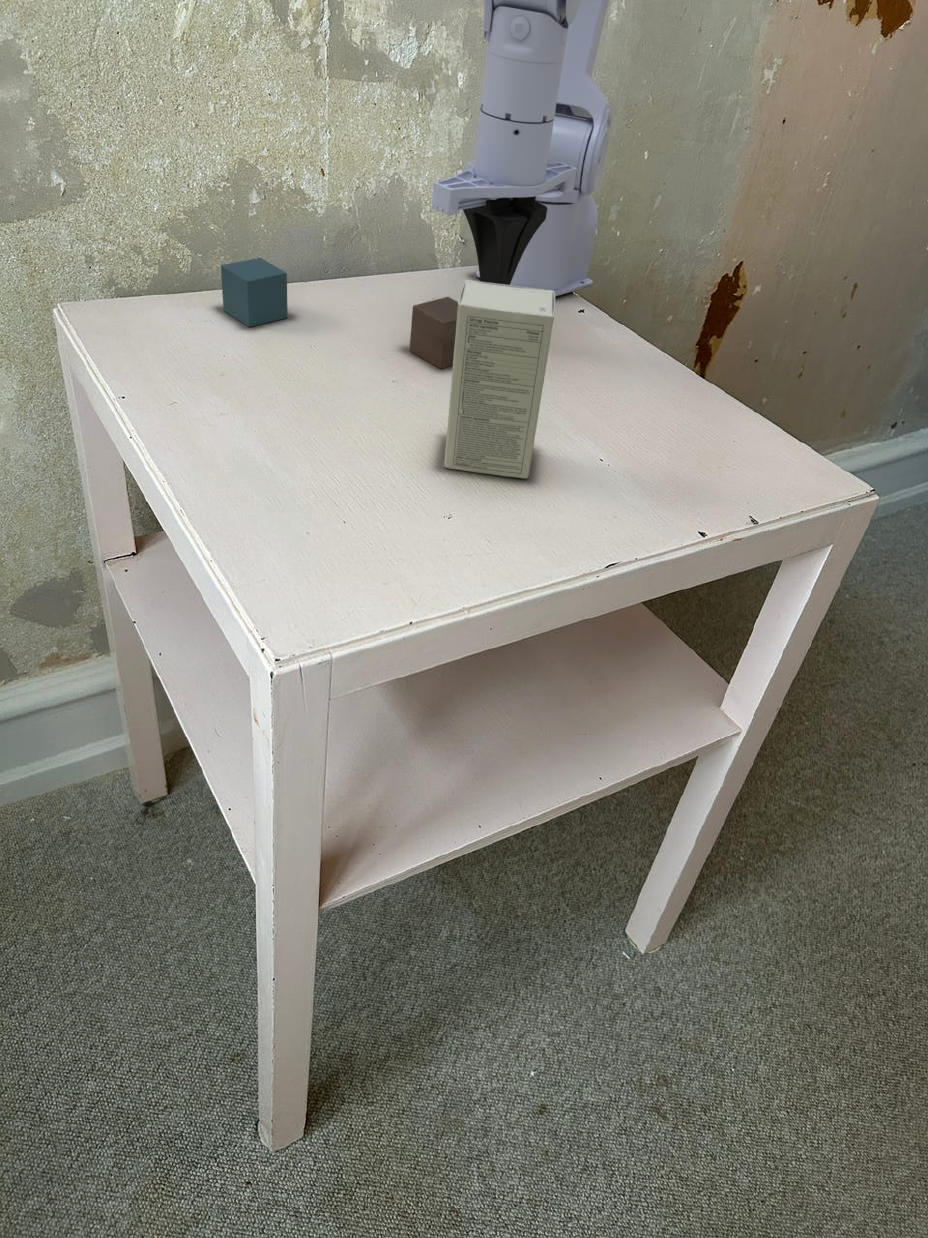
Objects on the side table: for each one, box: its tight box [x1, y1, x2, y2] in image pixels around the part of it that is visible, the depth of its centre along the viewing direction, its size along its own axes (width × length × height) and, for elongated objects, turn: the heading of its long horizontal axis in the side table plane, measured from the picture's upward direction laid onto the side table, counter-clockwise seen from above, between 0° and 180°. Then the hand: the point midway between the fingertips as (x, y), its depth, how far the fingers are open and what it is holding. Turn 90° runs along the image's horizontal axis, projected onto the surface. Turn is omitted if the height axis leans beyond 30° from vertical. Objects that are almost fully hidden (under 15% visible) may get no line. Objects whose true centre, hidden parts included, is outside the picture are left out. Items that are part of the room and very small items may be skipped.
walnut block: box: [409, 296, 459, 370], centre depth 79 cm, size 4×4×4 cm
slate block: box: [220, 257, 288, 328], centre depth 82 cm, size 4×4×4 cm
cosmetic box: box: [443, 279, 556, 479], centre depth 64 cm, size 6×4×12 cm
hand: (493, 288), depth 81 cm, fingers closed
